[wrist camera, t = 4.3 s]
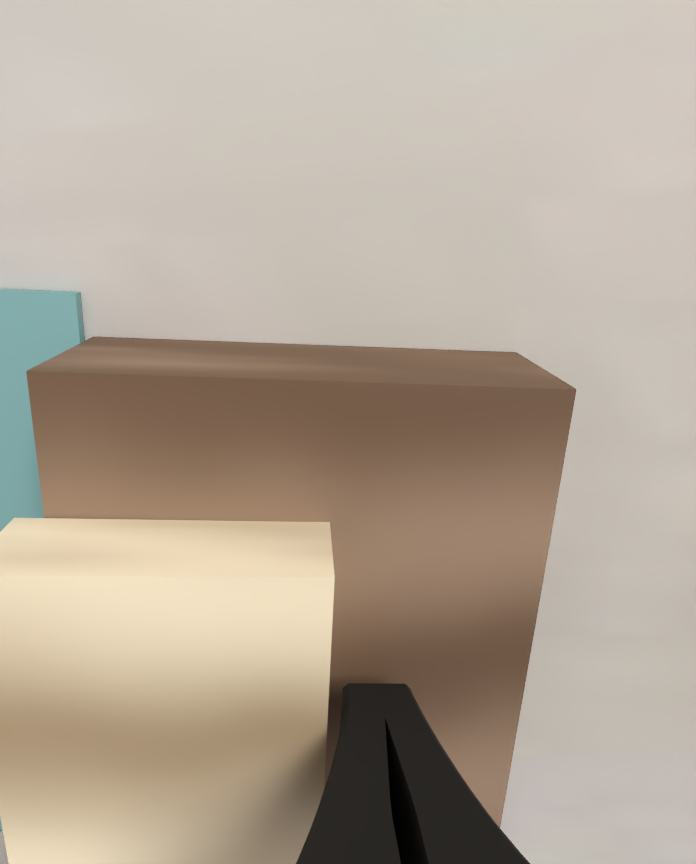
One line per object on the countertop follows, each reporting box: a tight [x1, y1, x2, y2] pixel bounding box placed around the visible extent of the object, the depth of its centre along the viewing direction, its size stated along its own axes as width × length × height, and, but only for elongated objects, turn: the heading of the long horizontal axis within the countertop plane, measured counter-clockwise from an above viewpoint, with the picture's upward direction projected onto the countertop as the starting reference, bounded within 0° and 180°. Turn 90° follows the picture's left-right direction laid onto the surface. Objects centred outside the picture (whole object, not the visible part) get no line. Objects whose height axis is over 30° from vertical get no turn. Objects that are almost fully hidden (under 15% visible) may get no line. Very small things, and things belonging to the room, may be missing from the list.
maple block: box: [0, 518, 335, 864], centre depth 12 cm, size 8×6×2 cm
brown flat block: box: [26, 337, 576, 828], centre depth 15 cm, size 14×10×4 cm
